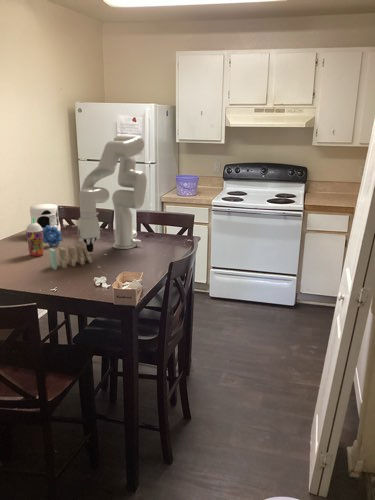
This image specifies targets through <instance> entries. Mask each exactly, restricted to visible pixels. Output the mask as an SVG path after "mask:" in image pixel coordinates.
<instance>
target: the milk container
mask: <svg viewBox="0 0 375 500" xmlns="http://www.w3.org/2000/svg"><path fill="white" fill-rule="evenodd" d="M29 207H30V209H29V211H30V224H31V223H33V217H34V223H38V224H39V225H40V226H41V227H42V228H45V227H46V226H47V225H49V226H50V227H51V228H52V227H53V226H54V227H56V228H57V231H60V232H61V224H60V220H59V212H58V205H57V204H53V203H39V204H32V205H30V206H29ZM45 229H46V228H45Z"/></svg>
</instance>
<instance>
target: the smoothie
mask: <svg viewBox="0 0 375 500" xmlns="http://www.w3.org/2000/svg"><path fill="white" fill-rule="evenodd" d="M25 234H26V241H27V245H28V251H29V255H30V256H31V257H32V258H38V257H41V256H43V254H44V242H43V239H44V238H43V229H42V227H41V226H40V225H39V224H38V223H34V217H33V223H31V222H30V223H29V224H28V225H27V226H26V229H25Z"/></svg>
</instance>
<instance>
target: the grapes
mask: <svg viewBox="0 0 375 500" xmlns="http://www.w3.org/2000/svg"><path fill="white" fill-rule="evenodd" d="M45 228H46V229H45ZM45 228H42V229H43V244H47V245H49V246H50V247H54V246H59V245H60V242H62V241H63V237H62V232H61V230H60V231H57V228H56V227H54V226H53V227H52V228H51V227H50V226H49V225H47V226H46V227H45Z"/></svg>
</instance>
